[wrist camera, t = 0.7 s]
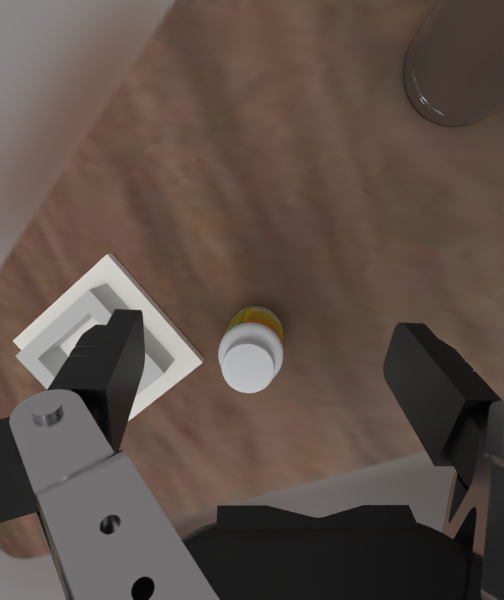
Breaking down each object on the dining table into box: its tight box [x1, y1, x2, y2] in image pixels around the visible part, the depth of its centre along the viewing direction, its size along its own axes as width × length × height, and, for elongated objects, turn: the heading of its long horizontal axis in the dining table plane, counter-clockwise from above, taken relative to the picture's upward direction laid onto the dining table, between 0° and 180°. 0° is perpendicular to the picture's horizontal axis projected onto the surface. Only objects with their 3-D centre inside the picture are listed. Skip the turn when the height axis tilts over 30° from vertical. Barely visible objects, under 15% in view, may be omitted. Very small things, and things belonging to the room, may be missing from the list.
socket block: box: [13, 253, 204, 421], centre depth 36 cm, size 14×14×4 cm
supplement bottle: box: [218, 306, 283, 393], centre depth 32 cm, size 5×5×10 cm
